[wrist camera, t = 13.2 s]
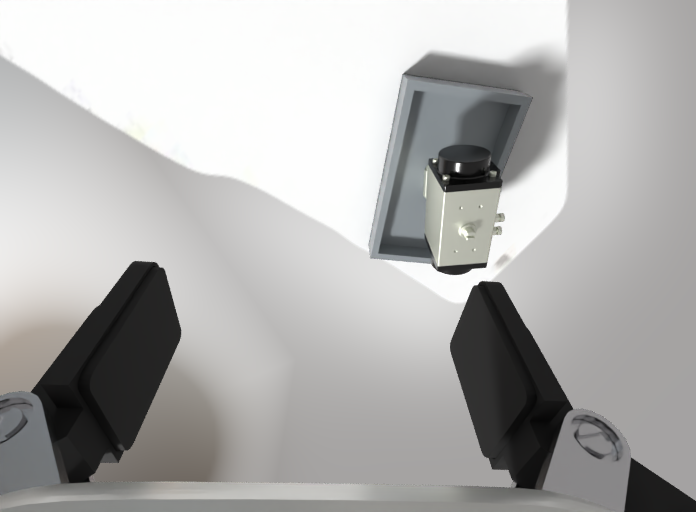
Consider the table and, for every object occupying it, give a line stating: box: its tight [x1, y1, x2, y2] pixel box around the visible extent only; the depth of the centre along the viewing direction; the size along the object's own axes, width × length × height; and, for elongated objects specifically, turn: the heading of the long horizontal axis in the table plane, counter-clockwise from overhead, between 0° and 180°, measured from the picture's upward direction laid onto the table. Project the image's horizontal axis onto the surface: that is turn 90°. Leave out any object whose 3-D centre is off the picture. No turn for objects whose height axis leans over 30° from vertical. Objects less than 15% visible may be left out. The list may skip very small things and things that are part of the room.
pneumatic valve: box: [423, 145, 505, 275], centre depth 35 cm, size 6×12×12 cm, turn 4°
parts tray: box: [369, 74, 533, 264], centre depth 40 cm, size 20×12×3 cm, turn 172°
